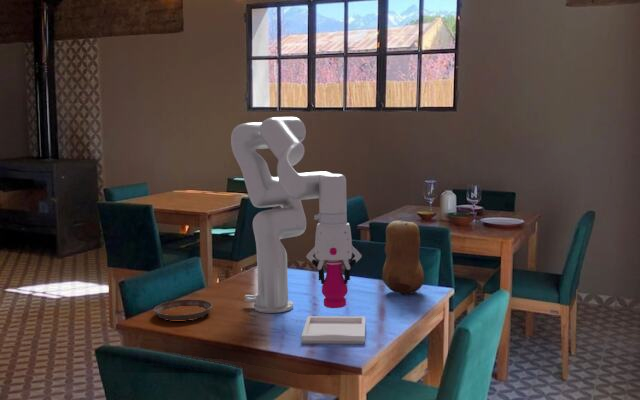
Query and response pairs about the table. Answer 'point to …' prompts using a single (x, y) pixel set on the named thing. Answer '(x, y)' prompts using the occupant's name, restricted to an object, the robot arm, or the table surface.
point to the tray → (334, 330)
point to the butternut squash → (402, 258)
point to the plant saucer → (186, 302)
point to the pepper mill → (334, 284)
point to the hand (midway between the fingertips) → (334, 282)
